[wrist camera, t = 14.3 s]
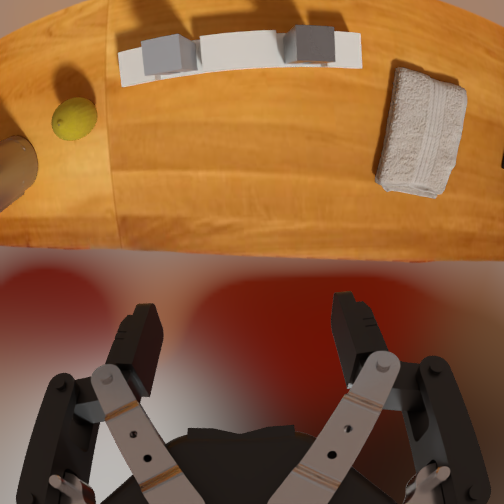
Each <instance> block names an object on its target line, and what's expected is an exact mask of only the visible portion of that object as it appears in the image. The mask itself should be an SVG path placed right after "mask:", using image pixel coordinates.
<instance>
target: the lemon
mask: <svg viewBox="0 0 504 504" xmlns="http://www.w3.org/2000/svg"><path fill="white" fill-rule="evenodd" d="M96 121H97V110H96V107H95V105H94V104H93V103H92V102H91V101H90V100H88V99H86V98H82V97H75V98H71V99H68V100H66V101H65V102H63V103H62V104H60V105H59V106H58V108H57V109H56V110H55V112H54V114H53V117H52V129H53V131H54V133H55V134H56V135H57V136H58V137H59V138H61V139H63V140H67V141H73V140H78V139H81V138H83V137H85V136H86V135H87V134H89V133H90V132H91V131H92V129H93V128H94V126H95V124H96Z"/></svg>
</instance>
